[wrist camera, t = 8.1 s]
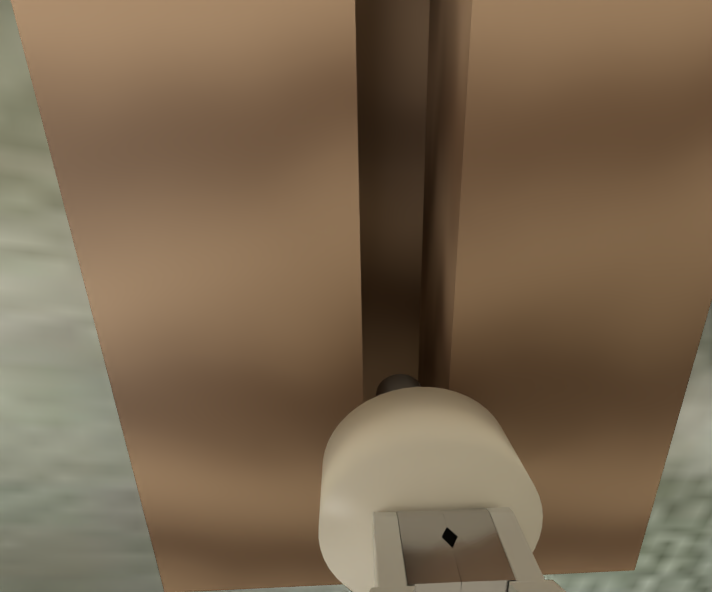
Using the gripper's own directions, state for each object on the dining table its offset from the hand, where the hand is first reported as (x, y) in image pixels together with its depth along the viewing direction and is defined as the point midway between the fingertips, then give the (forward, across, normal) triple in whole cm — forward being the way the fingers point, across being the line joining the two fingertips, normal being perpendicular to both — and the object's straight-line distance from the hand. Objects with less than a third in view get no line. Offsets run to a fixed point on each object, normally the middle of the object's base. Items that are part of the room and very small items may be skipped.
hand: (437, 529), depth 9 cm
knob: (+5, 0, 0) cm, 6 cm away
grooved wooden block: (+10, 0, +8) cm, 13 cm away
